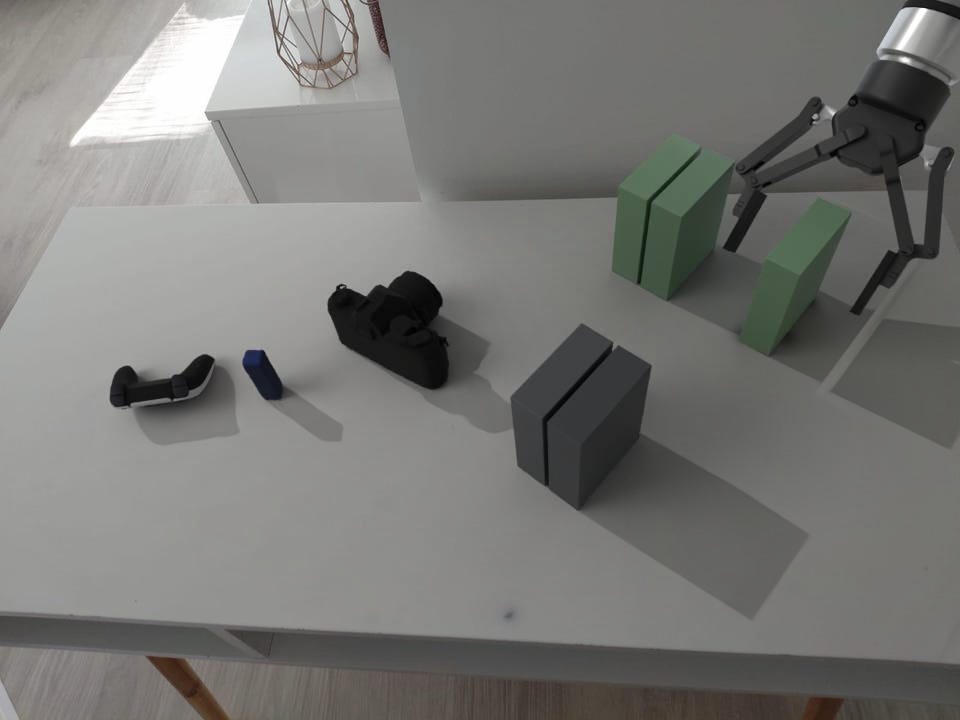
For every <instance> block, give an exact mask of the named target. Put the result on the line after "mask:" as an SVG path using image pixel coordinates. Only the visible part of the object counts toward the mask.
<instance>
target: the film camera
mask: <svg viewBox="0 0 960 720" xmlns="http://www.w3.org/2000/svg"><path fill="white" fill-rule="evenodd" d="M341 287H342V288H341ZM326 305H327V313H328V315H329V316H330V319H331V321H332V324H333V327H334V329H335V331H336V334H337V336H338V340H339V342H340V343H341V345H344V346H345V347H346V348H347V349H350V350H353V351H354V352H356V353H357V354H359V355H361V356H363V357H364V358H366V359H368V360H370V361H372V362H374V363H376V364H378V365H379V366H381V367H382V368H384V369H387V370H389V371H390V372H392V373H394V374H396V375H398V376H400V377H401V378H404V380H407V381H409V382H412V383H414V384H416V385H417V386H420V387H422V388H423V389H424V388H425V389H427V390H436V389H439V388H441V387H442V386H444V384H445V383H446V382H447V380H448V375H449V367H450V361H449V353H448V350H447V348H449V347H450V343H449V342H448V337H446V336H442V335H439V333H438V332H437V330H434V329H431V328H430V324H431V323H432V322H433V321H435V319H436V318H437V316H439V313H440V309H441V308H442V307H443V305H444V300H443V296H442V294H441V292H440V291H439V289H438V287H436V285H435V284H434V283H433V282H432V281H431V280H430V279H428V277H426V276H424V275H422V274H420V273H418V272H416V271H411V270H405V271H404V272H403V273H401V275H398V276H397V277H395V278H394V279H393V280H392V281H391V282H390V283H389V285H388V286H387V287H386V286H384V285H382V284H377V285H374V287H373V288H372V289H371V290H370V292H368V294H367V295H364V294H362V293H360V292H358V291H355V290H354V289H352V288H349V287H348V285H347V284H344V283H340V284H337V286H335V290H334V291H333V292H332V293H331V295H330V296H329V298H328V299H327V303H326Z"/></svg>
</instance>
